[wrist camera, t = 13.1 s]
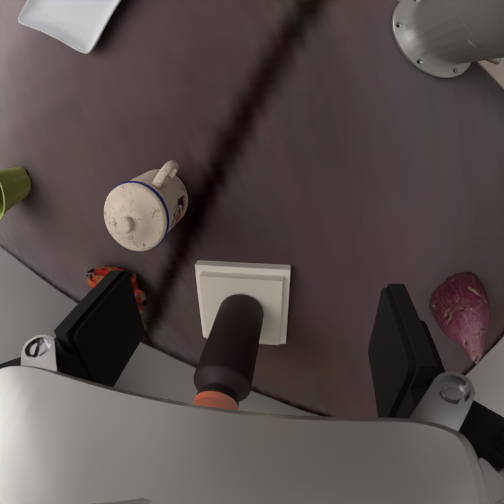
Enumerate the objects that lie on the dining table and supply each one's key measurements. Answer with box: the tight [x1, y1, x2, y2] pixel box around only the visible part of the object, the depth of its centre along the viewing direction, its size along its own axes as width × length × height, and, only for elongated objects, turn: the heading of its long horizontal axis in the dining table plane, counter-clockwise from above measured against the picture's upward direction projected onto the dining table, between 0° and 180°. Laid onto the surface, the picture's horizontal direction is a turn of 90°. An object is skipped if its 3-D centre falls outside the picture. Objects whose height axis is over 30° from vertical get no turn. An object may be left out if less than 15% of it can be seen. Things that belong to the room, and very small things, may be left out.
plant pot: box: [0, 167, 31, 220], centre depth 43 cm, size 9×9×9 cm
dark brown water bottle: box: [193, 294, 264, 410], centre depth 39 cm, size 7×7×20 cm
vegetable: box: [430, 272, 490, 364], centre depth 41 cm, size 10×10×15 cm
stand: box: [195, 260, 291, 345], centre depth 49 cm, size 14×14×3 cm
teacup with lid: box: [104, 161, 188, 251], centre depth 39 cm, size 12×9×12 cm
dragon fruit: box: [87, 265, 147, 316], centre depth 49 cm, size 8×8×12 cm
